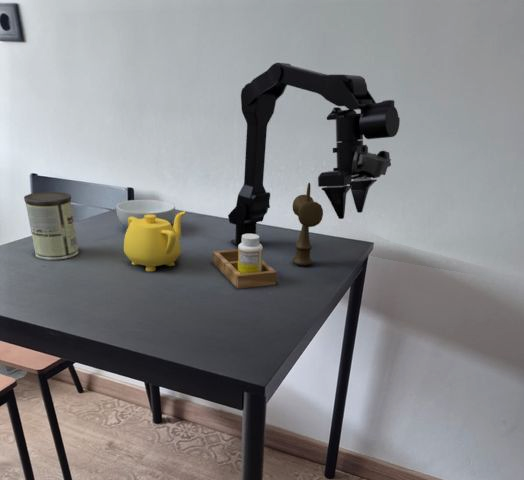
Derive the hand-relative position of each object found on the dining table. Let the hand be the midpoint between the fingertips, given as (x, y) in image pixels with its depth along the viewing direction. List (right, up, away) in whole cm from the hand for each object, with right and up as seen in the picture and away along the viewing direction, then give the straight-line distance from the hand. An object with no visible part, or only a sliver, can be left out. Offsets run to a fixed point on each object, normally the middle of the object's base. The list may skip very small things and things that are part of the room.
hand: (350, 215), depth 110 cm
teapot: (-46, -9, +10) cm, 47 cm away
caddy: (-25, -12, +6) cm, 28 cm away
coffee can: (-72, -7, +11) cm, 73 cm away
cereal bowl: (-54, +5, +34) cm, 64 cm away
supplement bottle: (-23, -14, +2) cm, 27 cm away
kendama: (-10, -9, +13) cm, 19 cm away
